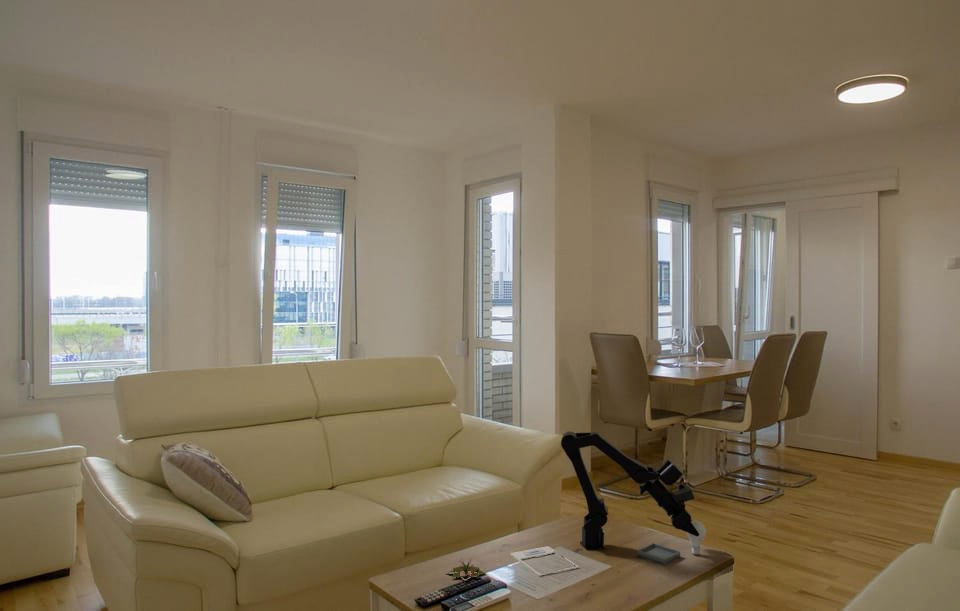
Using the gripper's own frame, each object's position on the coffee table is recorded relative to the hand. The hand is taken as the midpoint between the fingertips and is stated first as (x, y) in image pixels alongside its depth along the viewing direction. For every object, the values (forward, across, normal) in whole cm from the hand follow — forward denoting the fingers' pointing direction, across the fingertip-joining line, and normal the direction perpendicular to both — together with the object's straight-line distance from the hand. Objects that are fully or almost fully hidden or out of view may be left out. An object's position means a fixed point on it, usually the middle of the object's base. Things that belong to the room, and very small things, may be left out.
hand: (695, 530), depth 202 cm
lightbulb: (+6, 0, +6) cm, 8 cm away
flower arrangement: (-45, -30, +56) cm, 78 cm away
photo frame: (-29, -16, +40) cm, 52 cm away
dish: (-3, -4, +14) cm, 15 cm away
